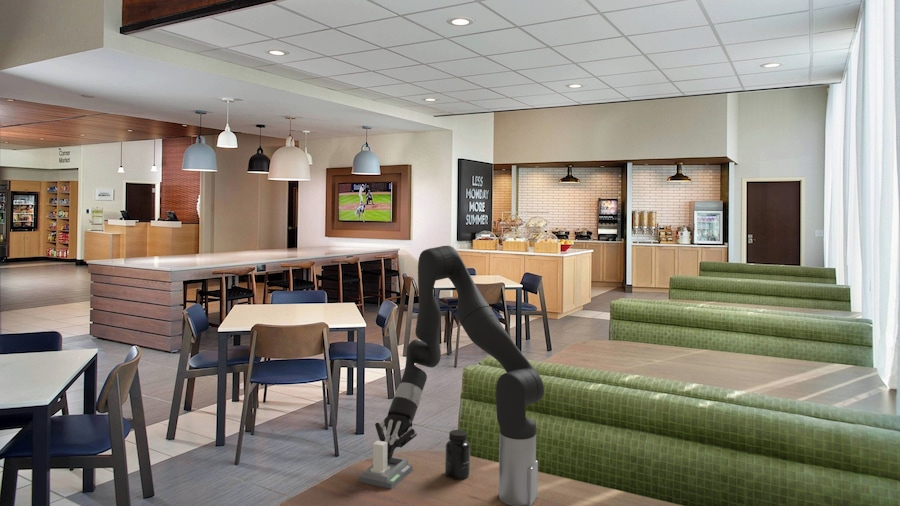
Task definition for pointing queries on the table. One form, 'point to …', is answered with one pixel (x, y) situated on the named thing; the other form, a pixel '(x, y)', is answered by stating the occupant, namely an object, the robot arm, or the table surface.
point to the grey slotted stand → (392, 478)
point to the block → (380, 458)
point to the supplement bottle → (457, 455)
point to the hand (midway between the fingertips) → (384, 459)
